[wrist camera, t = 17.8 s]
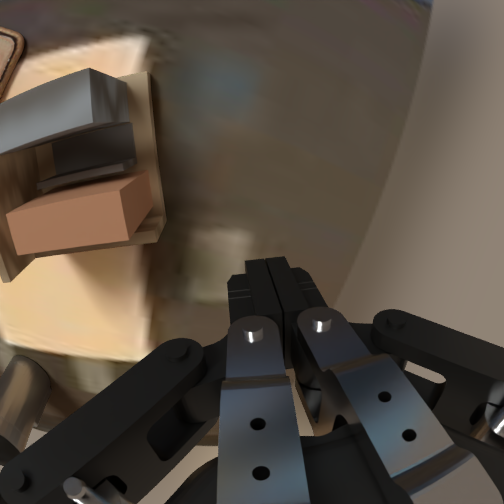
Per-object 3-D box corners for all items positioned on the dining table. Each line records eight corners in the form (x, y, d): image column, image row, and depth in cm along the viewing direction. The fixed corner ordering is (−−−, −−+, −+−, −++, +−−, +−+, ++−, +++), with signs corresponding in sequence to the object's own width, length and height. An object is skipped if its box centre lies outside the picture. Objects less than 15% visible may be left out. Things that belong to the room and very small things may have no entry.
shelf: (167, 220, 34) (144, 268, 23) (52, 237, 32) (3, 282, 22) (150, 73, 27) (114, 48, 16) (30, 108, 25) (-34, 112, 15)
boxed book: (153, 205, 31) (129, 240, 22) (61, 220, 30) (17, 255, 21) (147, 169, 30) (119, 190, 20) (54, 188, 29) (5, 214, 20)
